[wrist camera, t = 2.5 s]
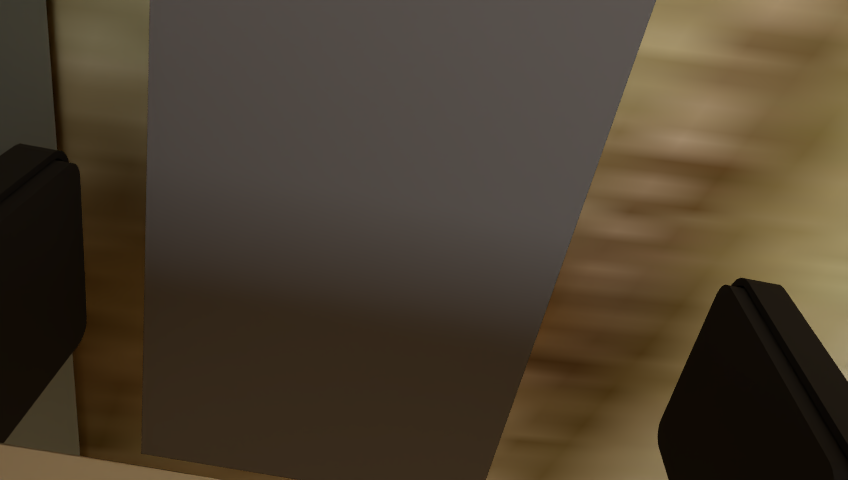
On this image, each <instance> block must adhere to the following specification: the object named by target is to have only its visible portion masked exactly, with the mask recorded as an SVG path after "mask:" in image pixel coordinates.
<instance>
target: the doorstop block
mask: <svg viewBox="0 0 848 480" xmlns="http://www.w3.org/2000/svg"><path fill="white" fill-rule="evenodd" d="M655 2H656V0H150V22H149V76H148V129H147V182H146V235H145V289H144V342H143V395H142V449H141V454H147V455H153V456H159V457H165V458H171V459H177V460H183V461H189V462H195V463H201V464H207V465H213V466H219V467H225V468H231V469H237V470H243V471H249V472H255V473H261V474H267V475H273V476H279V477H285V478H291V479H297V480H486V478H487V475H488V472H489V469H490V466H491V463H492V461H493V458H494V455H495V452H496V449H497V447H498V444H499V441H500V438H501V435H502V432H503V430H504V427H505V424H506V421H507V418H508V416H509V413H510V410H511V407H512V404H513V402H514V399H515V396H516V393H517V390H518V387H519V385H520V382H521V379H522V376H523V373H524V371H525V368H526V365H527V362H528V359H529V356H530V354H531V351H532V348H533V345H534V342H535V340H536V337H537V334H538V331H539V328H540V325H541V323H542V320H543V317H544V314H545V311H546V309H547V306H548V303H549V300H550V297H551V295H552V292H553V289H554V286H555V283H556V280H557V278H558V275H559V272H560V269H561V266H562V264H563V261H564V258H565V255H566V252H567V249H568V247H569V244H570V241H571V238H572V235H573V233H574V230H575V227H576V224H577V221H578V219H579V216H580V213H581V210H582V207H583V204H584V202H585V199H586V196H587V193H588V190H589V188H590V185H591V182H592V179H593V176H594V173H595V171H596V168H597V165H598V162H599V159H600V157H601V154H602V151H603V148H604V145H605V142H606V140H607V137H608V134H609V131H610V128H611V126H612V123H613V120H614V117H615V114H616V112H617V109H618V106H619V103H620V100H621V97H622V95H623V92H624V89H625V86H626V83H627V81H628V78H629V75H630V72H631V69H632V66H633V64H634V61H635V58H636V55H637V52H638V50H639V47H640V44H641V41H642V38H643V36H644V33H645V30H646V27H647V24H648V21H649V19H650V16H651V13H652V10H653V7H654V5H655Z"/></svg>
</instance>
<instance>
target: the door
mask: <svg viewBox="0 0 848 480" xmlns="http://www.w3.org/2000/svg"><path fill="white" fill-rule="evenodd" d="M19 143H21V144H26V145H32V146H37V147H43V148H48V149H53V150H57V142H56V129H55V115H54V102H53V89H52V76H51V62H50V49H49V36H48V22H47V9H46V0H0V155H2V154H3V153H5V152H6V151H7V150H9V149H10V148H12V147H13V146H15V145H17V144H19ZM4 443H5V444H11V445H17V446H23V447H29V448H35V449H41V450H47V451H53V452H60V453H66V454H72V455H78V456H80V448H79V435H78V421H77V408H76V395H75V381H74V368H73V355H72V354H71V355H70V357H69V358H68V359H67V361H66V362H65V363H64V365H63V366H62V367H61V369H60V370H59V371H58V372H57V374H56V375H55V376H54V378H53V379H52V380H51V382H50V383H49V384H48V386H47V387H46V388H45V390H44V391H43V392H42V394H41V395H40V396H39V397H38V399H37V400H36V401H35V403H34V404H33V405H32V407H31V408H30V409H29V411H28V412H27V413H26V415H25V416H24V417H23V419H22V420H21V421H20V422H19V424H18V425H17V426H16V428H15V429H14V430H13V432H12V433H11V434H10V436H9V437H8V438H7V440H6V441H5V442H4Z"/></svg>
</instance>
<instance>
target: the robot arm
mask: <svg viewBox="0 0 848 480" xmlns="http://www.w3.org/2000/svg"><path fill="white" fill-rule="evenodd" d="M86 319H87V315H86V294H85V272H84V250H83V228H82V206H81V185H80V172H79V169H78V166H77V165H76V164H74V163H69V161H68V158H67V156H66V154H65V153H64V152H63V151H59V150H53V149H48V148H43V147H37V146H32V145H26V144H21V143H19V144H17V145H15V146H13V147H12V148H10V149H9V150H7V151H6V152H5V153H3V154H2V155H0V480H220V479H215V478H209V477H203V476H197V475H191V474H185V473H179V472H174V471H168V470H162V469H156V468H150V467H144V466H138V465H132V464H126V463H120V462H114V461H108V460H102V459H96V458H90V457H84V456H78V455H72V454H66V453H60V452H53V451H47V450H41V449H35V448H29V447H23V446H17V445H11V444H5V443H4V442H5V441H6V440H7V438H8V437H9V436H10V434H11V433H12V432H13V430H14V429H15V428H16V426H17V425H18V424H19V422H20V421H21V420H22V419H23V417H24V416H25V415H26V413H27V412H28V411H29V409H30V408H31V407H32V405H33V404H34V403H35V401H36V400H37V399H38V397H39V396H40V395H41V394H42V392H43V391H44V390H45V388H46V387H47V386H48V384H49V383H50V382H51V380H52V379H53V378H54V376H55V375H56V374H57V372H58V371H59V370H60V369H61V367H62V366H63V365H64V363H65V362H66V361H67V359H68V358H69V357H70V355H71V354H72V353H73V351H74V350H75V349H76V347H77V346H78V345H79V343H80V342H81V340H82V337H83V335H84V332H85V328H86ZM658 445H659V449H660V453H661V456H662V459H663V463H664V466H665V469H666V472H667V476H668V479H669V480H848V381H847V380H846V378H845V377H844V375H843V374H842V373H841V371H840V370H839V368H838V367H837V365H836V364H835V362H834V361H833V359H832V358H831V356H830V355H829V354H828V352H827V351H826V349H825V348H824V346H823V345H822V343H821V342H820V340H819V339H818V337H817V336H816V334H815V333H814V332H813V330H812V329H811V327H810V326H809V324H808V323H807V321H806V320H805V318H804V317H803V315H802V314H801V313H800V311H799V310H798V308H797V307H796V305H795V304H794V302H793V301H792V299H791V298H790V296H789V295H788V293H787V292H786V291H785V289H784V288H783V287H782V286H781V285H777V284H772V283H766V282H761V281H756V280H750V279H745V278H739V279H737V280H736V281H735V282H734V283H733V284H732V285H731V286H729V285H724V286H722V287H721V288H720V289H719V291H718V293H717V294H716V297H715V299H714V301H713V303H712V306H711V308H710V310H709V312H708V315H707V317H706V319H705V322H704V324H703V326H702V328H701V331H700V333H699V335H698V337H697V340H696V342H695V344H694V346H693V349H692V351H691V353H690V355H689V358H688V360H687V362H686V364H685V367H684V369H683V371H682V373H681V376H680V378H679V380H678V382H677V385H676V387H675V389H674V391H673V394H672V396H671V398H670V401H669V403H668V405H667V407H666V410H665V412H664V414H663V416H662V419H661V421H660V424H659V429H658Z"/></svg>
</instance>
